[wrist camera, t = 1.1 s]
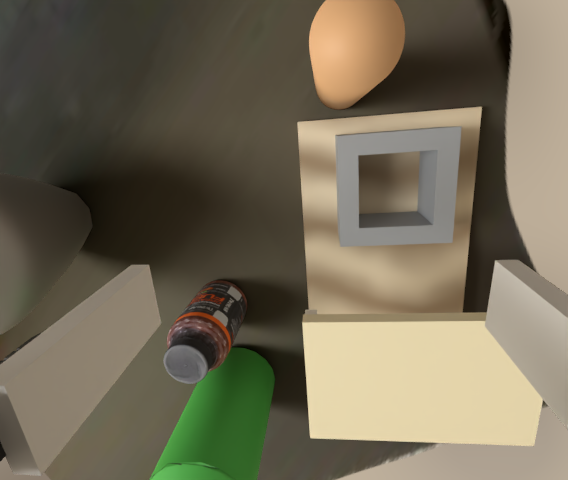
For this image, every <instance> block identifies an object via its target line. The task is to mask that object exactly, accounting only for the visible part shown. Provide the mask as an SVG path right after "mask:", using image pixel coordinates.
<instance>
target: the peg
mask: <svg viewBox="0 0 568 480" xmlns="http://www.w3.org/2000/svg"><path fill="white" fill-rule="evenodd" d="M404 41H405V26H404V20H403V16H402V13H401V11H400V9H399V7H398V5H397V4H396V2H395V1H394V0H326V1H325V2H324V3H323V4H322V6H321V7H320V9H319V10H318V12H317V14H316V16H315V18H314V20H313V23H312V26H311V30H310V36H309V49H310V56H311V62H312V68H313V74H314V80H315V86H316V92H317V95H318V97H319V99H320V100H321V102H322V103H323V104H324V105H325V106H327V107H329V108H331V109H335V110H342V109H346V108H349V107H350V106H352V105H353V104H355V103H356V102H357V101H358V100H360V99H361V98H362V97H363V96H364V95H366V94H367V93H368V92H369V91H370V90H372V89H373V88H374V87H375V86H376V85H378V84H379V83H380V82H381V81H383V80H384V79H385V78H386V77H387V76H388V75H389V74H390V73H391V71H392V70H393V69H394V67H395V66H396V64H397V63H398V61H399V58H400V56H401V53H402V50H403V46H404Z"/></svg>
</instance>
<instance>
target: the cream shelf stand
mask: <svg viewBox="0 0 568 480" xmlns="http://www.w3.org/2000/svg"><path fill="white" fill-rule="evenodd" d="M486 315H487V312H478V313H388V314H317V310H305V314H303V321H302V325H303V340H304V355H305V369H306V384H307V399H308V413H309V428H310V438H321V439H349V440H378V441H406V442H434V443H462V444H493V445H520V446H521V445H522V446H534V443H535V438H536V432H537V428H538V422H539V417H540V412H541V407H542V402H543V399H542V397H541V396H540V395H539V394H538V392H537V391H536V390H535V389H534V387H533V386H532V385H531V384H530V382H529V381H528V380H527V379H526V377H525V376H524V375H523V374H522V372H521V371H520V370H519V368H518V367H517V366H516V365H515V363H514V362H513V361H512V360H511V358H510V357H509V356H508V355H507V353H506V352H505V351H504V350H503V348H502V347H501V346H500V345H499V343H498V342H497V341H496V340H495V338H494V337H493V336H492V335H491V333H490V332H489V331H488V330H487V328H486V327H485V322H486Z"/></svg>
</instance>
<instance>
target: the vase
mask: <svg viewBox="0 0 568 480" xmlns="http://www.w3.org/2000/svg"><path fill="white" fill-rule="evenodd" d="M92 227H93V225H92V220H91V214H90V209H89V208H88V206H87V205H86V204H85V203H84V202H83V201H82V199H81V198H80V197H79V196H78V195H77V194H76V193H74V192H71V191H68V190H65V189H62V188H59V187H56V186H53V185H50V184H47V183H43V182H40V181H36V180H32V179H28V178H24V177H19V176H14V175H9V174H4V173H0V334H3V333H4V332H6V331H8V330H9V329H11V328H12V327H14V326H16V325H17V324H18V323H20V322H21V321H22V320H23V319H24V318H25V317H26V316H27V315H28V314H29V313H30V312H31V311H32V310H33V309H34V308H35V307H36V306H37V305H38V304H39V303H40V301H41V300H42V299H43V298H44V297H45V296H46V294H47V293H48V292H49V291H50V290H51V288H52V287H53V286H54V285H55V283H56V282H57V281H58V280H59V279H60V277H61V276H62V275H63V274H64V272H65V271H66V270H67V269H68V267H69V266H70V264H71V263H72V262H73V260H74V259H75V257H76V256H77V254H78V253H79V251H80V250H81V248H82V246H83V244H84V243H85V241H86V239H87V237H88V235H89V233H90V231H91V229H92Z"/></svg>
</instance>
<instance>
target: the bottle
mask: <svg viewBox="0 0 568 480" xmlns="http://www.w3.org/2000/svg"><path fill="white" fill-rule="evenodd" d="M274 384H275V377H274V373H273V369H272V368H271V366H270V365H269V363H268V362H267V361H266V359H264V358H263V357H262V356H260V355H259V354H258V353H256V352H254V351H251V350H248V349H245V348H233V347H231V349H230V351H229V353H228V355H227V357H226V359H225V360H224V362H223V363H222V364H221V365H220V366H219V367H218V368H216V369H214V370H212V371H209V372H208V373H207V375H206V376H205V378H204V379H203V380H201V381H199V382H198V383H197V385H196V387H195V389H194V391H193V393H192V395H191V397H190V399H189V401H188V403H187V405H186V407H185V409H184V411H183V413H182V415H181V417H180V419H179V421H178V423H177V425H176V427H175V429H174V431H173V433H172V435H171V437H170V439H169V441H168V443H167V445H166V447H165V449H164V451H163V453H162V455H161V457H160V460H159V462H158V464H157V466H156V468H155V470H154V472H153V474H152V476H151V478H150V480H257V476H258V471H259V466H260V460H261V455H262V450H263V444H264V439H265V434H266V428H267V423H268V417H269V412H270V406H271V401H272V395H273V390H274Z"/></svg>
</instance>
